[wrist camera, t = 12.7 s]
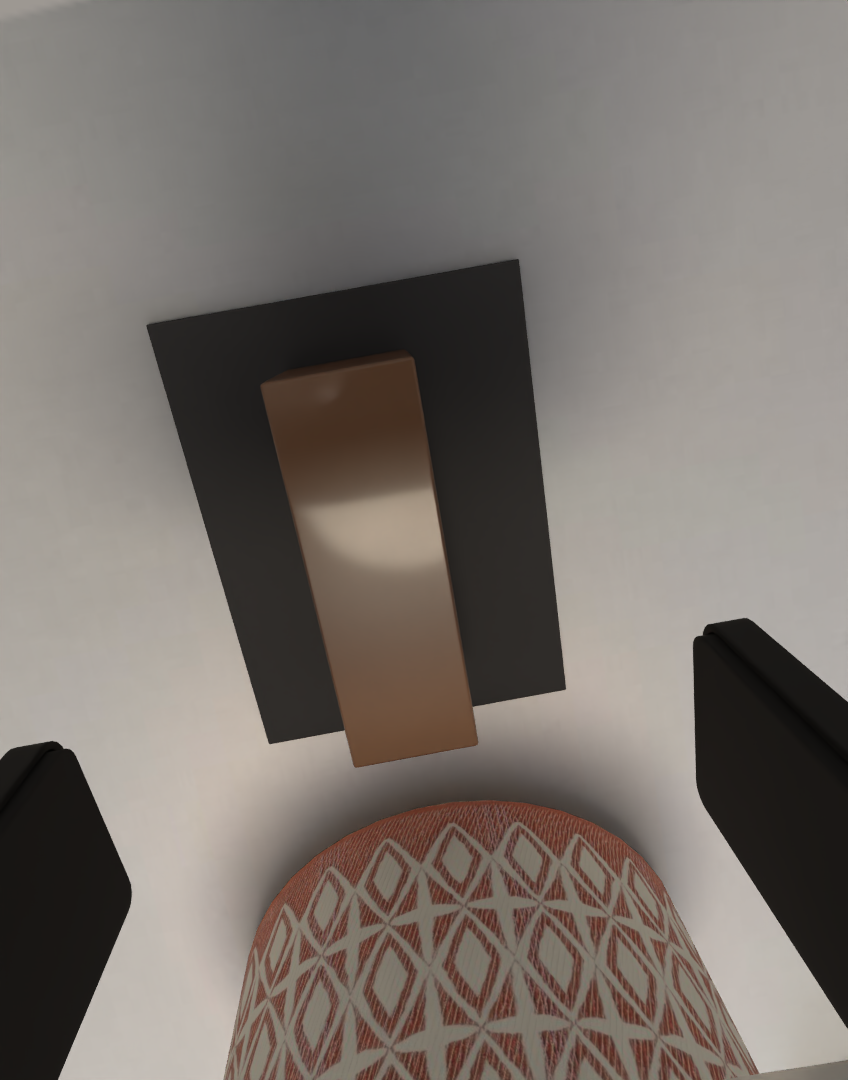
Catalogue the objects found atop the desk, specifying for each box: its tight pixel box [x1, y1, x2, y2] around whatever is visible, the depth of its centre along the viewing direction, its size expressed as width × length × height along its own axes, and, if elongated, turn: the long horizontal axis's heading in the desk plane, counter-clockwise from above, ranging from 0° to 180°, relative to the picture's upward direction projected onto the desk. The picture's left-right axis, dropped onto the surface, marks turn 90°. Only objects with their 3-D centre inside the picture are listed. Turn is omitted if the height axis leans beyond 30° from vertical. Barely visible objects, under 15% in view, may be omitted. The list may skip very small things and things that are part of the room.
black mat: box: [147, 259, 566, 744], centre depth 23 cm, size 16×12×1 cm
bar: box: [260, 349, 478, 768], centre depth 21 cm, size 12×4×5 cm, turn 10°
